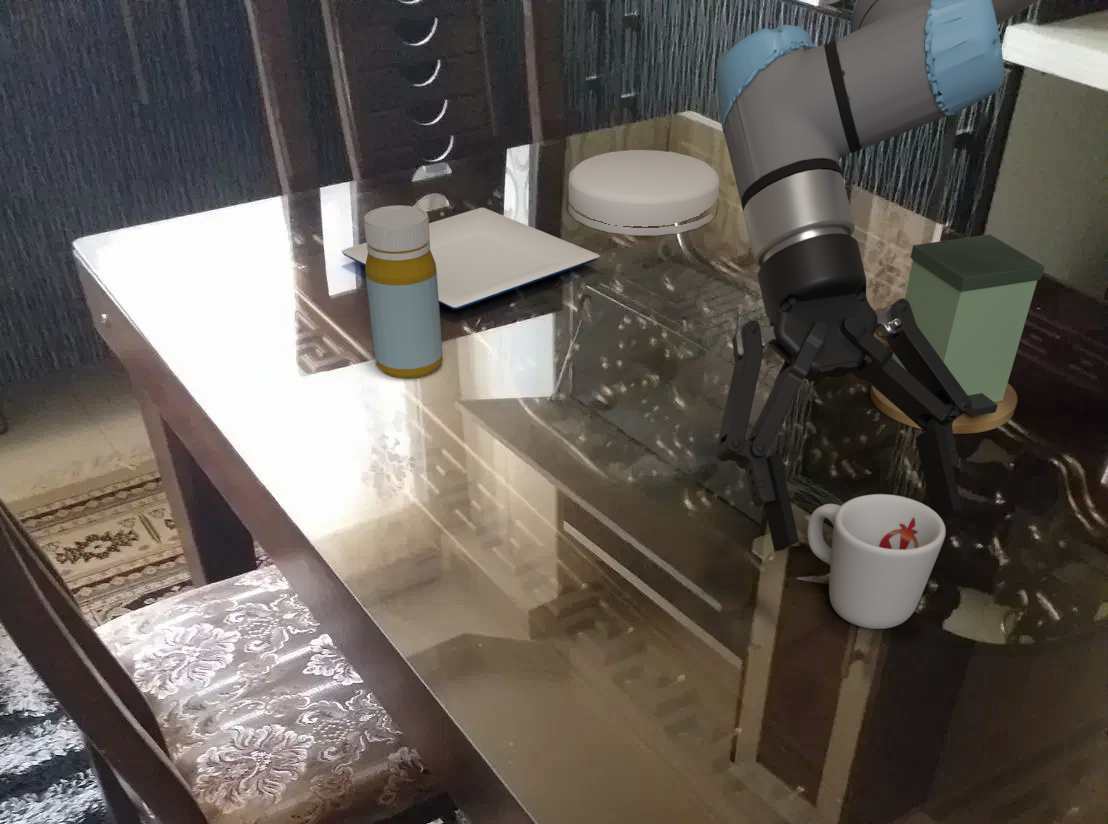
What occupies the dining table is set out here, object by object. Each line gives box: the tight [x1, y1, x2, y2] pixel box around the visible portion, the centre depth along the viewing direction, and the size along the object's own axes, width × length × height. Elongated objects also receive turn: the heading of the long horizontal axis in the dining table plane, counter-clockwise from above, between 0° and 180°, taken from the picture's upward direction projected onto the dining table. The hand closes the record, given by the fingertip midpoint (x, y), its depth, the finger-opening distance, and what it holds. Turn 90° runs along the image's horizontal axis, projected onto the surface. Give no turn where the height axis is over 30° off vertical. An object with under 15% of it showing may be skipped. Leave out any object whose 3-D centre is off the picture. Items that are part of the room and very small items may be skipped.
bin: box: [891, 234, 1045, 416], centre depth 108 cm, size 11×8×13 cm
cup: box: [807, 493, 947, 630], centre depth 87 cm, size 11×8×8 cm
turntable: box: [869, 382, 1018, 435], centre depth 114 cm, size 14×14×1 cm
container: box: [567, 149, 720, 237], centre depth 152 cm, size 20×20×5 cm
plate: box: [341, 207, 601, 310], centre depth 138 cm, size 22×22×2 cm
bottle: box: [363, 205, 443, 380], centre depth 115 cm, size 7×7×15 cm
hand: (868, 530), depth 86 cm, fingers open, 13 cm apart
